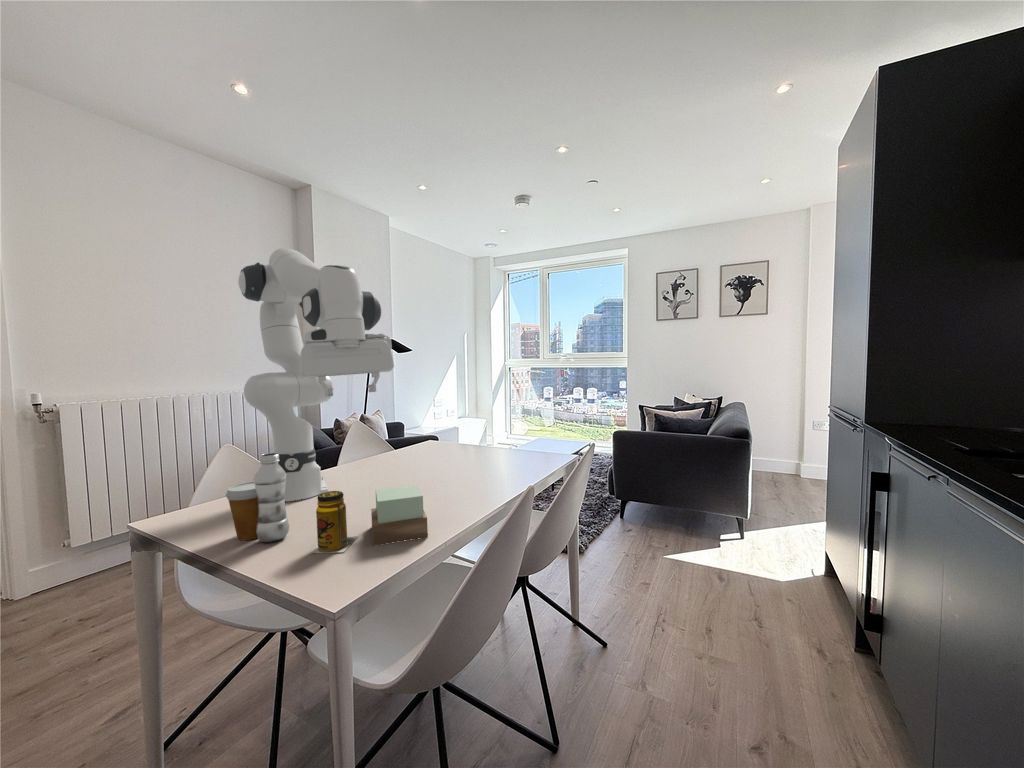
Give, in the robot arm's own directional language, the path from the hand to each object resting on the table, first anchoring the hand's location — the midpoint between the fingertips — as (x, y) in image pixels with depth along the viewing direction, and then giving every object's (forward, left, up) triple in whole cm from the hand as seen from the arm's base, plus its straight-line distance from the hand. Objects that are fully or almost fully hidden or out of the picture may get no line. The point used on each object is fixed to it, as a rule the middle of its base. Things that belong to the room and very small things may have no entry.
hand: (351, 394), depth 96 cm
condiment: (+3, -5, -34) cm, 34 cm away
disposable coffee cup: (-11, -24, -34) cm, 43 cm away
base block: (+1, +9, -34) cm, 35 cm away
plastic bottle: (-6, -18, -34) cm, 39 cm away
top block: (+1, +10, -29) cm, 31 cm away
